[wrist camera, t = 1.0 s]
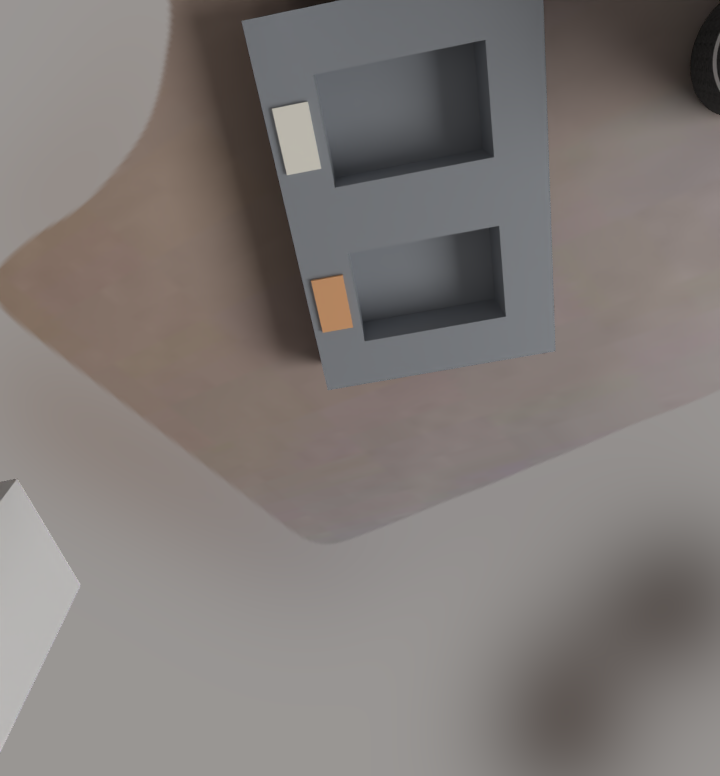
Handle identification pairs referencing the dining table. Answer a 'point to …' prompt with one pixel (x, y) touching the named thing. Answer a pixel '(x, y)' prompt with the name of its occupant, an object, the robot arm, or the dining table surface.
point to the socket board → (413, 178)
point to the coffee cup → (707, 62)
